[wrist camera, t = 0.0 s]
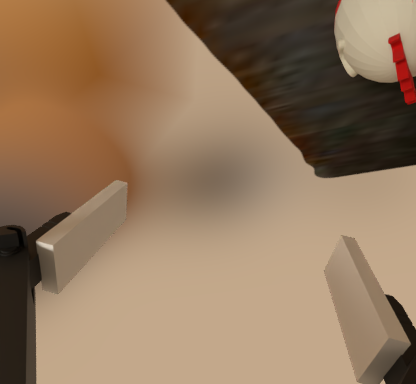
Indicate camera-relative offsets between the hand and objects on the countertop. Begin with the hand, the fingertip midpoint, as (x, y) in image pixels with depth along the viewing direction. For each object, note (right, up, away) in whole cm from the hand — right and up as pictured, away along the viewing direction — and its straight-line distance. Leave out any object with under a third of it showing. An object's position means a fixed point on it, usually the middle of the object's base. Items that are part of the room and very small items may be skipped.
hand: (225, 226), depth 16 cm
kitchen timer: (+23, +26, +18) cm, 39 cm away
